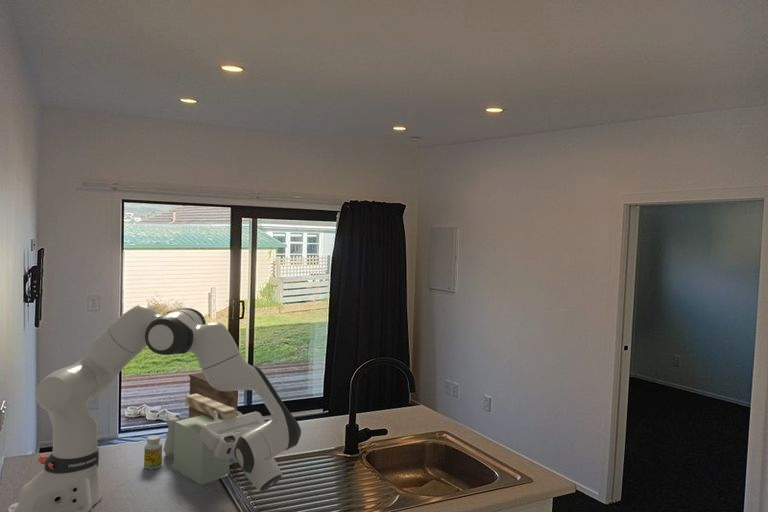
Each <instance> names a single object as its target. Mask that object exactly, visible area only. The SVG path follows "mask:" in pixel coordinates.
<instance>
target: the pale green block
mask: <svg viewBox="0 0 768 512" xmlns="http://www.w3.org/2000/svg"><path fill="white" fill-rule="evenodd" d="M212 422H214V420H212V419H210V418H208V417H205V416H203V415H201V416H197V417H193V418H189V417H188V418H185V419H180V420H179V421H175V435H174V457H173V466H172V467H173V469H174V470H176V471H177V472H178V473H180V474H182V475H183V476H185V477H187V478H188V479H190V480H192V481H194V482H195V483H197V484H198V485H199V486H202V485H205V484H209V483H211V482H214V481H218V480H220V478H221V477H223V476H225V475H226V474H229V475H230V461H231V459H230V458H216V457H215V456H214V451H212V450H210V449H209V448H208V447H207V446H206V444H205V443H204V442H203V440H202V438H201V437H200V431H201V429H202V427H203V425H204V424H208V423H212ZM221 479H222V478H221Z"/></svg>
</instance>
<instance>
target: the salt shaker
mask: <svg viewBox="0 0 768 512" xmlns="http://www.w3.org/2000/svg"><path fill="white" fill-rule="evenodd" d="M179 420H181V419H180V418H179V417H176V416H175V417H169V418H168V419H167V420H166V426H168V428H167V429H168V430H167V433H166V437H165V441H164V446H163V451H164V454H165V456H166V458H170V459H171V458H172V457H173V458H174V435H175V421H179Z"/></svg>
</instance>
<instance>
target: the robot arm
mask: <svg viewBox="0 0 768 512" xmlns="http://www.w3.org/2000/svg"><path fill="white" fill-rule="evenodd" d="M146 347H147V348H148V349H149V350H150V351H151V352H153V353H155V354H157V355H163V356H169V355H171V356H173V355H179V354H180V355H182V354H187V353H188V352H191V353H192V354H193V355H194V356H195V357H196V360H197V361H198V364H199V367H200V369H201V371H202V372H203V374H204V376H205V378H206V380H207V381H208V383H209V384H210V386H212V387H213V388H215V389H217V390H220V391H238V392H239V391H253V392H255V393H256V394H257V395H258V397H260V399H261V400H262V402H263V404H264V405H265V407H266V408H267V410H268V412H269V413H270V415H271V417H270V419H268V420H267V421H265V419H264V417H263V415H262V414H261V412H259V411H253V412H252V411H251V412H249V413H245V414H243V413H242V412H241V411H239V410H237V411H236V417H232V418H228V419H224V420H221V419H220V418H219V416H220V413H219V411H214V412H213V413H212V416H213V418H214V422H212V423H208V424H204V425H203V427H202V429H201V431H200V437H201V438H202V440H203V442H204V443H205V444H206V446H207V447H208V448H209V449H210V450H212V451H214V456H215V457H216V458H230V460H231V459H232V460H235V461H236V462H237V464H238V465H239V467H240V469H241V470H242V472H243V473H244V475H245V476H246V478H247V479H248V480H249V482H250V483H251V484H252V485H253V486H254V488H256V489H257V490H258V491H260V492H264V491H266V490H269V489H270V488H272V487H273V486H275V485H276V484H277V483H278V482H279V481H280V480H281V478H282V476H283V474H282V471H281V469H280V467H279V464H278V462H277V461H276V459H275V457H277V456H278V455H280V454H282V453H283V452H286V451H288V450H290V449H291V448H294V447H296V446H297V445H298V443H299V441H300V439H301V435H302V428H301V427H300V424H299V423H298V421H297V419H296V418H295V417H294V416H293V414H292V413H291V411H289V409H288V407H287V406H286V405H285V403H284V401H283V400H282V398H281V397H280V395H279V394H278V393H277V391H276V390H275V389H276V388H274V387H273V385H272V383H271V381H270V380H269V379H268V377H267V376H266V375H265V373H264V372H263V371H262V369H260V367H258V366H257V365H251V364H250V363H248V362H247V361H246V360H245V359H244V357H243V355H242V354H241V352H240V349H239V348H238V345H237V343H236V342H235V340H234V337H233V336H232V334H231V333H230V331H229V330H228V328H227V326H226V325H225V324H223V323H222V322H218V321H217V322H216V321H211V322H207V321H206V319H205V317H204V315H203V314H202V313H201V312H200V311H198V310H197V309H194V308H189V307H184V308H178V309H175V310H171V311H167V312H166V313H164V314H161V313H160V312H158V311H157V309H155V308H154V307H152V306H150V305H147V304H138V305H136V306H134V307H132V308H130V309H129V310H127V311H126V312H124V313H123V314H121V315H120V316H119V317H118V318H116V319H115V320H114V321H113V322H111V324H110V325H108V327H107V328H105V329H104V330H103V331H102V332H101V333H100V334H99V335H98V336H97V337H96V338H95V339H94V340H93V341H92V342H91V343H90V344H89V347H88V351H87V352H86V353H85V355H84V356H83V357H82V358H81V359H79V360H78V361H76V362H74V363H72V364H71V365H67V366H65V367H63V368H60V369H56V370H54V371H52V372H51V373H50V374H48V375H47V376H45V377H44V378H43V379H41V380H40V381H39V383H38V384H37V385H36V388H35V400H36V402H37V403H38V405H39V407H40V408H41V409H43V410H45V411H46V412H47V414H48V416H49V418H50V421H51V427H52V453H50V455H49V456H47V455H45V454H42V455H40V456H39V457H38V459H37V460H38V462H39V463H40V464H41V465H43V466H44V467H43V470H41V471H40V472H38V474H36V475H35V476H34V477H33V478H32V479H30V480H29V481H28V482H27V483H25V484H24V485H23V486H22V487H21V489H20V492H19V497H18V501H17V502H15V503H12V504H10V506H9V507H8V510H7V512H90V511H91V510H92V509H93V506H94V505H95V504H97V503H98V502H99V501H100V500H101V499H102V496H103V494H102V490H101V487H100V483H99V475H98V467H99V463H100V462H99V461H100V452H99V447H98V432H99V431H98V429H99V428H98V427H99V424H98V423H99V422H98V421H97V419H96V418H95V417H93V416H92V414H91V412H90V408H89V402H90V400H91V399H94V398H96V397H97V396H99V395H101V394H102V393H103V392H105V391H106V390H107V389H108V388H109V387H110V386H111V385H112V383H113V382H114V380H115V379H116V377H117V376H118V375H119V373H120V372H122V370H124V368H125V367H126V366H127V365H128V364H130V363H131V362H132V361H133V359H134V358H135V357H137V356H138V355H139V354H140V353H141V352H142V351H143V350H144V349H145V348H146ZM232 408H234V407H232ZM218 418H219V419H218Z"/></svg>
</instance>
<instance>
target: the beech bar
mask: <svg viewBox="0 0 768 512" xmlns="http://www.w3.org/2000/svg"><path fill="white" fill-rule="evenodd" d="M184 404H185V406H187V407H188V408H189V407H192V408H194V409H196V410H199V411H201V412H203V413H206V414H208V415H210V416H212V413H213V412H214V411H219V413H220V416H219V418H220V419H221V420H224V419H228V418H232V417H236V409H234V408H232V407H229V406H227V405H224V404H222V403H219V402H217V401H214V400H212V399H209V398H207V397H204V396H202V395H199V394H192V395H190V394H187V395H185V403H184ZM219 418H218V419H219Z"/></svg>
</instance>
